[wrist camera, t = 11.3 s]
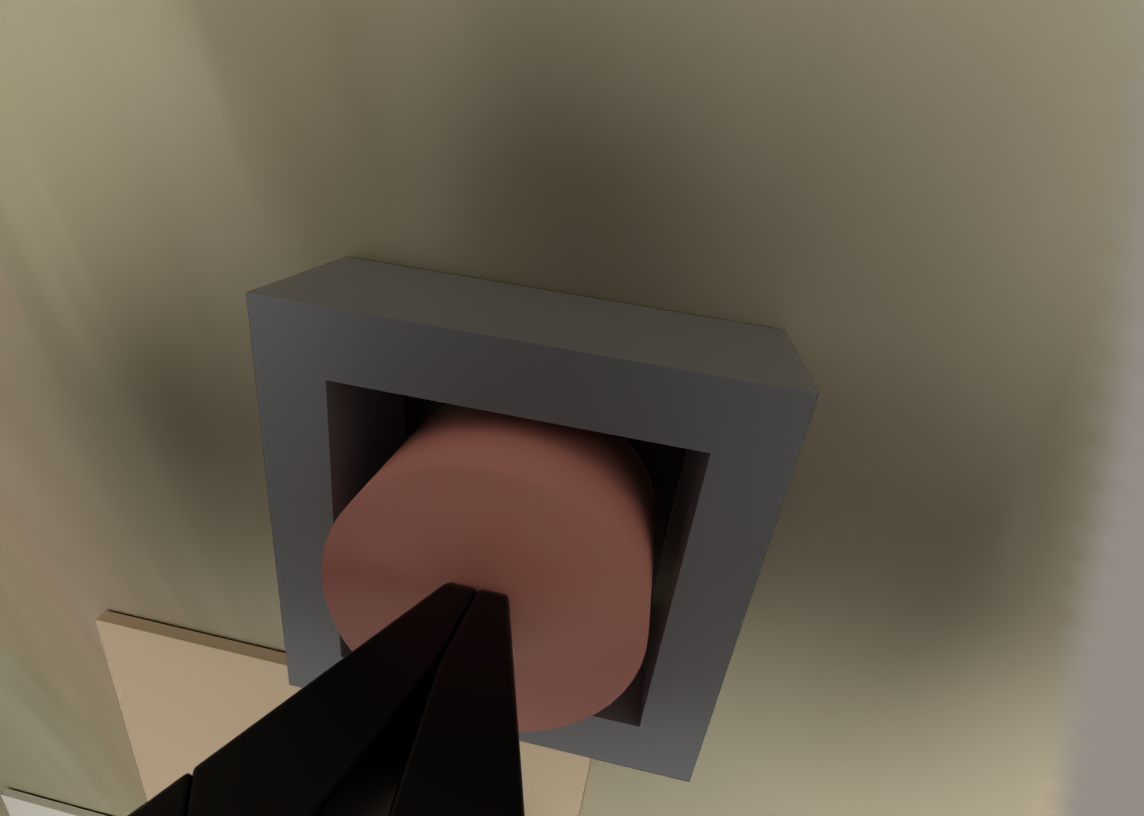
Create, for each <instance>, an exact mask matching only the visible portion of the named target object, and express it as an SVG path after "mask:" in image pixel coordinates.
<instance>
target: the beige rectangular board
mask: <svg viewBox="0 0 1144 816" xmlns="http://www.w3.org/2000/svg"><path fill="white" fill-rule="evenodd" d="M95 621H96V625H97V628H98V632H99V635H100V638H101V642H102V645H103V649H104V652H105V656H106V659H107V663H108V666H109V670H110V673H111V676H112V680H113V683H114V687H115V690H116V694H117V697H118V701H119V704H120V707H121V711H122V714H123V718H124V721H125V725H126V728H127V732H128V735H129V739H130V742H131V745H132V749H133V752H134V756H135V759H136V763H137V766H138V770H139V773H140V777H141V780H142V783H143V787H144V790H145V794H146V797H147V801H149V800H150V799H152V798H153V797H154V796H156V795H157V794H158V793H160V792H161V791H162V790H164V789H165V788H167V787H168V786H169V785H171V784H172V783H173V782H175V781H176V780H177V779H179V778H180V777H182V776H183V775H184V774H186V773H190V774H191V775H192V774H193V770H194V768H195V767H196V766H197V765H198V764H200V763H201V762H202V761H204V760H205V759H207V758H208V757H209V756H211V755H212V754H213V753H215V752H216V751H217V750H219V749H220V748H221V747H223V746H224V745H226V744H227V743H228V742H230V741H231V740H232V739H234V738H235V737H236V736H238V735H239V734H241V733H242V732H243V731H245V730H246V729H247V728H249V727H250V726H251V725H253V724H254V723H255V722H257V721H258V720H260V719H261V718H262V717H264V716H265V715H266V714H268V713H269V712H270V711H272V710H273V709H275V708H276V707H277V706H279V705H280V704H281V703H283V702H284V701H285V700H287V699H288V698H289V697H291V696H292V695H294V694H295V693H296V692H298V691H299V690H300V689H302V688H300V687H296V686H292V685H289V679H288V670H287V660H286V653H283V652H278V651H274V650H270V649H266V648H261V647H257V646H253V645H249V644H245V643H240V642H236V641H232V640H228V639H224V638H219V637H215V636H211V635H207V634H203V633H198V632H194V631H190V630H186V629H182V628H177V627H173V626H169V625H165V624H161V623H156V622H152V621H148V620H144V619H140V618H135V617H131V616H127V615H123V614H119V613H114V612H110V611H105V612H104V613H102V614H101V615H100V616H99V617H98V618H96V619H95ZM519 742H520V756H521V770H522V784H523V797H524V811H525V816H579V811H580V806H581V802H582V797H583V792H584V788H585V783H586V778H587V774H588V769H589V764H590V760H591V758H588V757H584V756H580V755H575V754H571V753H567V752H563V751H559V750H555V749H551V748H547V747H543V746H538V745H534V744H530V743H526V742H522V741H519Z"/></svg>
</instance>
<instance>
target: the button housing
mask: <svg viewBox="0 0 1144 816" xmlns="http://www.w3.org/2000/svg"><path fill="white" fill-rule="evenodd" d="M246 297H247V306H248V315H249V324H250V333H251V343H252V352H253V361H254V370H255V379H256V388H257V397H258V406H259V415H260V424H261V433H262V442H263V452H264V461H265V470H266V479H267V488H268V497H269V506H270V515H271V524H272V533H273V542H274V551H275V561H276V570H277V579H278V588H279V597H280V606H281V615H282V624H283V633H284V642H285V651H286V660H287V670H288V679H289V685H292V686H296V687H300V688H303V687H304V686H306V685H307V684H309V683H310V682H311V681H313V680H314V679H315V678H317V677H318V676H319V675H321V674H322V673H323V672H325V671H326V670H328V669H329V668H330V667H332V666H333V665H334V664H336V663H337V662H338V661H340V660H341V659H343V658H344V657H345V656H347V655H348V654H349V653H351V652H352V651H351V650H350V648H349V647H348V646H347V644H346V643H345V641H344V640H343V638H342V636H341V635H340V633H339V631H338V630H337V628H336V626H335V624H334V622H333V619H332V617H331V615H330V613H329V610H328V607H327V603H326V600H325V597H324V592H323V585H322V557H323V551H324V546H325V543H326V540H327V538H328V535H329V532H330V530H331V528H332V526H333V524H334V523H335V521H336V519H337V518H338V516H339V515H340V513H341V512H342V511H343V510H344V509H345V508H346V506H347V505H348V504H349V503H350V502H351V501H352V500H353V499H354V497H355V496H356V495H357V494H358V493H359V492H360V491H361V490H362V489H363V488H364V486H365V485H366V484H367V483H368V482H369V481H370V480H371V479H372V478H373V477H374V475H375V474H376V473H377V472H378V471H379V470H380V469H381V468H382V467H383V466H384V464H385V463H386V462H387V461H388V460H389V459H390V458H391V457H392V456H393V455H394V453H395V452H396V451H397V450H398V449H399V448H400V447H401V446H402V445H403V443H404V442H405V395H406V396H411V397H416V398H422V399H427V400H432V401H437V402H443V403H448V404H453V405H458V406H464V407H469V408H474V409H480V410H485V411H490V412H495V413H501V414H506V415H511V416H516V417H522V418H527V419H532V420H537V421H543V422H548V423H553V424H559V425H564V426H569V427H574V428H580V429H585V430H590V431H595V432H601V433H606V434H611V435H617V436H622V437H627V438H632V439H638V440H643V441H648V442H653V443H659V444H664V445H669V446H675V447H680V448H685V449H687V450H686V454H685V459H684V463H683V467H682V471H681V475H680V480H679V484H678V488H677V492H676V496H675V500H674V505H673V509H672V513H671V517H670V521H669V525H668V530H667V534H666V538H665V542H664V546H663V551H662V555H661V559H660V563H659V567H658V571H657V576H656V580H655V584H654V588H653V592H652V596H651V604H650V620H649V634H648V641H647V647H646V652H645V655H644V658H643V661H642V664H641V667H640V668H639V670H638V672H637V674H636V676H635V677H634V679H633V681H632V682H631V683H630V685H629V686H628V687H627V688H626V690H625V691H624V692H623V693H622V694H621V695H620V696H619V697H618V698H617V699H616V700H614V701H613V702H612V703H611V704H610V705H608V706H607V707H605V708H604V709H602V710H601V711H599V712H598V713H596V714H594V715H592V716H590V717H588V718H586V719H584V720H581V721H579V722H576V723H573V724H570V725H567V726H564V727H559V728H554V729H549V730H541V731H530V732H519V741H522V742H526V743H530V744H534V745H538V746H543V747H547V748H551V749H555V750H559V751H563V752H567V753H571V754H575V755H580V756H584V757H588V758H592V759H596V760H600V761H604V762H608V763H612V764H617V765H621V766H625V767H629V768H633V769H637V770H641V771H645V772H649V773H654V774H658V775H662V776H666V777H670V778H674V779H678V780H682V781H686V782H690V779H691V776H692V773H693V770H694V767H695V764H696V761H697V758H698V755H699V752H700V749H701V746H702V743H703V740H704V737H705V734H706V731H707V728H708V725H709V722H710V719H711V716H712V713H713V710H714V707H715V704H716V701H717V698H718V695H719V692H720V689H721V686H722V683H723V680H724V677H725V674H726V671H727V668H728V665H729V662H730V659H731V656H732V653H733V650H734V647H735V644H736V641H737V638H738V635H739V632H740V629H741V626H742V623H743V620H744V617H745V614H746V611H747V608H748V605H749V602H750V599H751V596H752V593H753V590H754V587H755V584H756V581H757V578H758V575H759V572H760V569H761V566H762V563H763V560H764V557H765V554H766V551H767V548H768V545H769V542H770V539H771V536H772V533H773V530H774V527H775V524H776V521H777V518H778V515H779V512H780V509H781V506H782V503H783V500H784V497H785V494H786V491H787V488H788V485H789V482H790V479H791V476H792V473H793V470H794V467H795V464H796V461H797V458H798V455H799V452H800V449H801V446H802V443H803V440H804V437H805V434H806V431H807V428H808V425H809V422H810V419H811V416H812V413H813V410H814V407H815V404H816V401H817V398H818V395H819V393H818V391H817V390H816V388H815V386H814V384H813V382H812V380H811V378H810V377H809V375H808V373H807V371H806V369H805V367H804V365H803V364H802V362H801V360H800V358H799V356H798V354H797V353H796V351H795V349H794V347H793V345H792V343H791V341H790V340H789V338H788V336H787V334H786V332H785V330H781V329H775V328H769V327H763V326H757V325H751V324H745V323H739V322H733V321H727V320H721V319H715V318H709V317H703V316H697V315H692V314H686V313H680V312H674V311H668V310H662V309H656V308H650V307H644V306H638V305H632V304H626V303H620V302H614V301H608V300H602V299H596V298H590V297H584V296H578V295H573V294H567V293H561V292H555V291H549V290H543V289H537V288H531V287H525V286H519V285H513V284H507V283H501V282H495V281H489V280H483V279H477V278H471V277H465V276H459V275H453V274H448V273H442V272H436V271H430V270H424V269H418V268H412V267H406V266H400V265H394V264H388V263H382V262H376V261H370V260H364V259H358V258H352V257H344V258H342V259H339V260H336V261H333V262H330V263H327V264H325V265H322V266H319V267H316V268H313V269H311V270H308V271H305V272H302V273H299V274H296V275H294V276H291V277H288V278H285V279H282V280H280V281H277V282H274V283H271V284H268V285H265V286H263V287H260V288H257V289H254V290H251V291H249V292H246Z"/></svg>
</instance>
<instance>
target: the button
mask: <svg viewBox="0 0 1144 816" xmlns="http://www.w3.org/2000/svg"><path fill="white" fill-rule="evenodd" d="M655 527H656V503H655V497H654V491H653V487H652V484H651V481H650V478H649V475H648V472H647V470H646V468H645V466H644V464H643V462H642V460H641V458H640V457H639V455H638V454H637V452H636V451H635V449H634V448H633V446H632V445H631V444H630V443H629V441H628V440H627V439H626V438H625V437H622V436H617V435H611V434H606V433H601V432H595V431H590V430H585V429H580V428H574V427H569V426H564V425H559V424H553V423H548V422H543V421H537V420H532V419H527V418H522V417H516V416H511V415H506V414H501V413H495V412H490V411H485V410H480V409H474V408H469V407H464V406H458V405H453V404H448V403H446V404H444V405H442V406H441V407H439V408H438V409H437V410H435V411H434V412H433V413H432V414H431V415H429V416H428V417H427V418H426V419H425V420H424V421H423V423H422V424H421V425H420V426H419V427H418V428H417V429H416V430H415V431H414V432H413V434H412V435H411V436H410V437H409V438H408V439H407V440H406V441H405V442H404V443H403V445H402V446H401V447H400V448H399V449H398V450H397V451H396V452H395V453H394V455H393V456H392V457H391V458H390V459H389V460H388V461H387V462H386V463H385V464H384V466H383V467H382V468H381V469H380V470H379V471H378V472H377V473H376V474H375V475H374V477H373V478H372V479H371V480H370V481H369V482H368V483H367V484H366V485H365V486H364V488H363V489H362V490H361V491H360V492H359V493H358V494H357V495H356V496H355V497H354V499H353V500H352V501H351V502H350V503H349V504H348V505H347V506H346V508H345V509H344V510H343V511H342V512H341V513H340V515H339V516H338V518H337V519H336V521H335V523H334V524H333V526H332V528H331V530H330V532H329V535H328V538H327V540H326V543H325V546H324V551H323V557H322V585H323V592H324V597H325V600H326V603H327V607H328V610H329V613H330V615H331V617H332V619H333V622H334V624H335V626H336V628H337V630H338V631H339V633H340V635H341V636H342V638H343V640H344V641H345V643H346V644H347V646H348V647H349V648H350V650H351V651H353V650H355V649H356V648H357V647H359V646H360V645H362V644H363V643H364V642H366V641H367V640H368V639H370V638H371V637H372V636H374V635H375V634H377V633H378V632H379V631H381V630H382V629H383V628H385V627H386V626H387V625H389V624H390V623H391V622H393V621H394V620H396V619H397V618H398V617H400V616H401V615H402V614H404V613H405V612H406V611H408V610H409V609H411V608H412V607H413V606H415V605H416V604H417V603H419V602H420V601H421V600H423V599H424V598H425V597H427V596H428V595H430V594H431V593H432V592H434V591H435V590H436V589H438V588H439V587H440V586H442V585H443V584H445V583H449V582H452V583H456V584H461V585H466V586H470V587H473V588H475V589H476V590H477V592H478V591H479V590H482V589H484V590H489V591H493V592H498V593H502V594H506V595H507V596H508V598H509V605H510V618H511V632H512V646H513V660H514V673H515V687H516V701H517V715H518V729H519V732H530V731H541V730H549V729H554V728H559V727H564V726H567V725H570V724H573V723H576V722H579V721H581V720H584V719H586V718H588V717H590V716H592V715H594V714H596V713H598V712H599V711H601V710H602V709H604V708H605V707H607V706H608V705H610V704H611V703H612V702H613V701H614V700H616V699H617V698H618V697H619V696H620V695H621V694H622V693H623V692H624V691H625V690H626V688H627V687H628V686H629V685H630V683H631V682H632V681H633V679H634V677H635V676H636V674H637V672H638V670H639V668H640V667H641V664H642V661H643V658H644V655H645V652H646V647H647V641H648V634H649V620H650V604H651V589H652V574H653V558H654V543H655Z"/></svg>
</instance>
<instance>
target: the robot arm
mask: <svg viewBox="0 0 1144 816" xmlns="http://www.w3.org/2000/svg"><path fill="white" fill-rule="evenodd" d="M128 816H525V811H524V797H523V784H522V770H521V756H520V742H519V729H518V715H517V701H516V687H515V673H514V660H513V646H512V632H511V618H510V605H509V598H508V596H507V595H506V594H502V593H498V592H493V591H489V590H484V589H482V590H479V591H478V592H477V590H476V589H475V588H473V587H470V586H466V585H461V584H456V583H452V582H449V583H445V584H443V585H442V586H440V587H439V588H438V589H436V590H435V591H434V592H432V593H431V594H430V595H428V596H427V597H425V598H424V599H423V600H421V601H420V602H419V603H417V604H416V605H415V606H413V607H412V608H411V609H409V610H408V611H406V612H405V613H404V614H402V615H401V616H400V617H398V618H397V619H396V620H394V621H393V622H391V623H390V624H389V625H387V626H386V627H385V628H383V629H382V630H381V631H379V632H378V633H377V634H375V635H374V636H372V637H371V638H370V639H368V640H367V641H366V642H364V643H363V644H362V645H360V646H359V647H357V648H356V649H355V650H353V651H352V652H351V653H349V654H348V655H347V656H345V657H344V658H343V659H341V660H340V661H338V662H337V663H336V664H334V665H333V666H332V667H330V668H329V669H328V670H326V671H325V672H323V673H322V674H321V675H319V676H318V677H317V678H315V679H314V680H313V681H311V682H310V683H309V684H307V685H306V686H304V687H303V688H302V689H300V690H299V691H298V692H296V693H295V694H294V695H292V696H291V697H289V698H288V699H287V700H285V701H284V702H283V703H281V704H280V705H279V706H277V707H276V708H275V709H273V710H272V711H270V712H269V713H268V714H266V715H265V716H264V717H262V718H261V719H260V720H258V721H257V722H255V723H254V724H253V725H251V726H250V727H249V728H247V729H246V730H245V731H243V732H242V733H241V734H239V735H238V736H236V737H235V738H234V739H232V740H231V741H230V742H228V743H227V744H226V745H224V746H223V747H221V748H220V749H219V750H217V751H216V752H215V753H213V754H212V755H211V756H209V757H208V758H207V759H205V760H204V761H202V762H201V763H200V764H198V765H197V766H196V767H195V768H194V770H193V774H192V775H191V774H190V773H186V774H184V775H183V776H182V777H180V778H179V779H177V780H176V781H175V782H173V783H172V784H171V785H169V786H168V787H167V788H165V789H164V790H162V791H161V792H160V793H158V794H157V795H156V796H154V797H153V798H152V799H150V800H149V801H148V802H146V803H145V804H143V805H142V806H140V807H139V808H138V809H136V810H135V811H133V812H132V813H131V814H129V815H128Z"/></svg>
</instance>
